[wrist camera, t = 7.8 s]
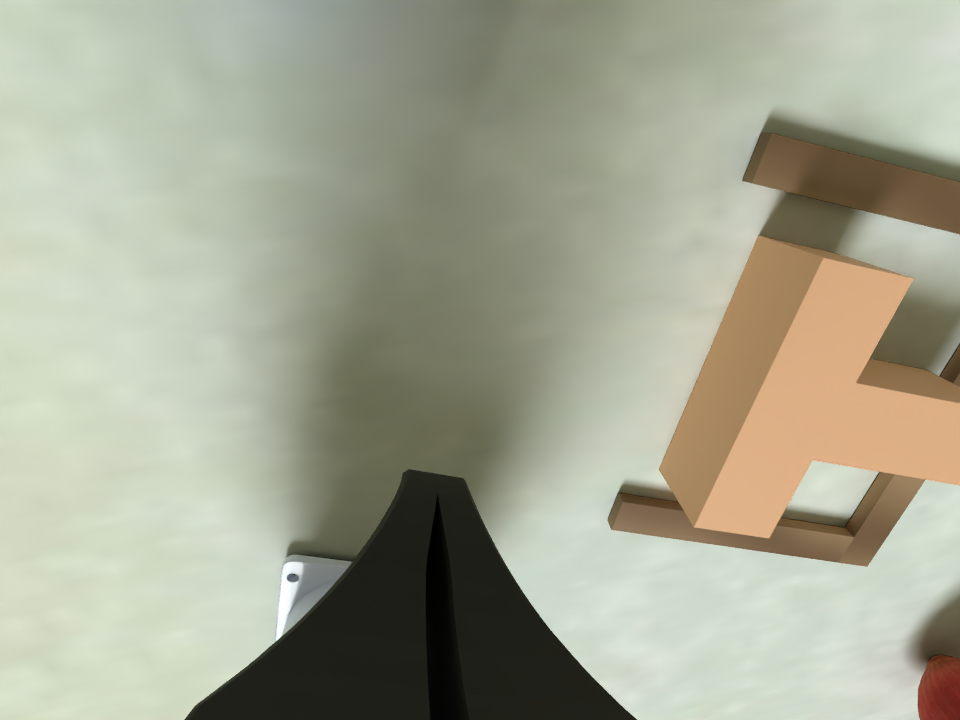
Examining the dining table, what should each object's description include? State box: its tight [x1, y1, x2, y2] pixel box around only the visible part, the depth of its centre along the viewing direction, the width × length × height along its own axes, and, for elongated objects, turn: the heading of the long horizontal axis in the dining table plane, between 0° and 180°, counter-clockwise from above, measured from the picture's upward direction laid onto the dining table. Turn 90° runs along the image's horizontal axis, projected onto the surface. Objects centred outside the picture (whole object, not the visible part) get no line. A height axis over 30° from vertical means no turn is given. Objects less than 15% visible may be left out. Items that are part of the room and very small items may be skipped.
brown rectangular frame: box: [608, 133, 960, 566], centre depth 20 cm, size 16×12×1 cm
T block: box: [659, 235, 960, 538], centre depth 19 cm, size 9×10×4 cm
